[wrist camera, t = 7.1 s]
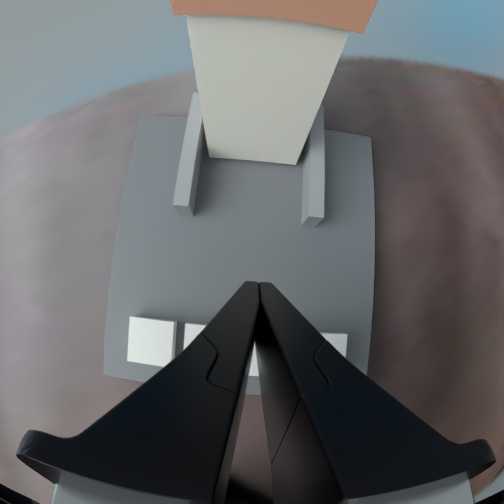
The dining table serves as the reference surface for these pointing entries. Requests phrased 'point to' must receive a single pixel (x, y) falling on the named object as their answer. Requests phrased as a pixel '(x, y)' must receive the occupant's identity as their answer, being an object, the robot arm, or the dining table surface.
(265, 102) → the key
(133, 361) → the keyboard deck
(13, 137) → the dining table surface
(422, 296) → the dining table surface
